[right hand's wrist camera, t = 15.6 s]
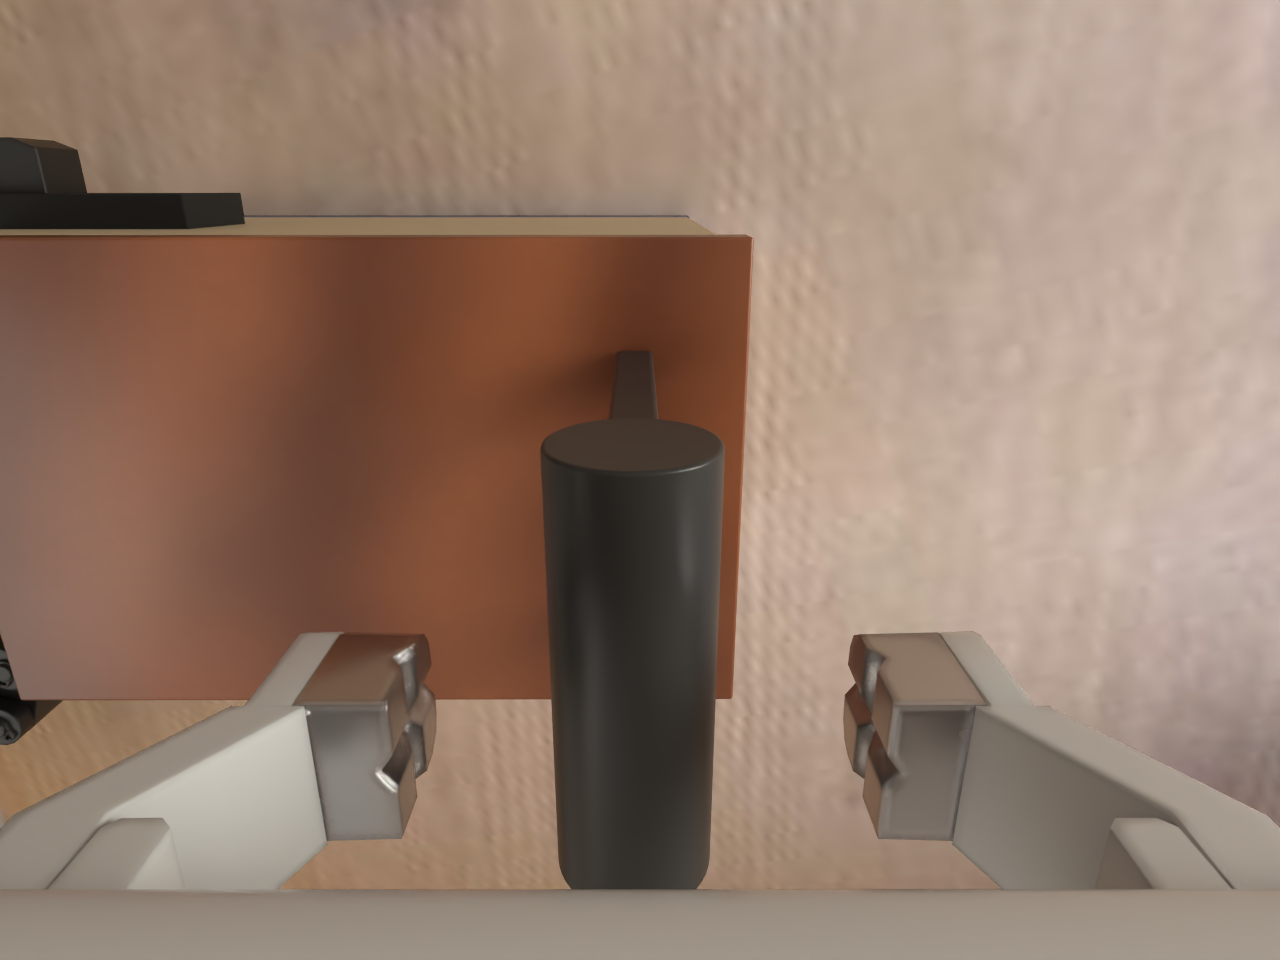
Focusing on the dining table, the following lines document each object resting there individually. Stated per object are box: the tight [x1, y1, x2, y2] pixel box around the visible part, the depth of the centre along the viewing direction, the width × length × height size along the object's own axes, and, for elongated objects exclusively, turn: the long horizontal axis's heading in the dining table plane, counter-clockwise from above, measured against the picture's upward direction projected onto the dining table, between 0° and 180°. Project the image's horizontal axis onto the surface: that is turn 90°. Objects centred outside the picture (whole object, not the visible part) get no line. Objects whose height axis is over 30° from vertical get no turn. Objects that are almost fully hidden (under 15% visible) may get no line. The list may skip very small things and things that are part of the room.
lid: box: [0, 235, 754, 889], centre depth 13 cm, size 16×10×8 cm, turn 90°
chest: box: [0, 216, 716, 235], centre depth 22 cm, size 16×10×10 cm, turn 90°
